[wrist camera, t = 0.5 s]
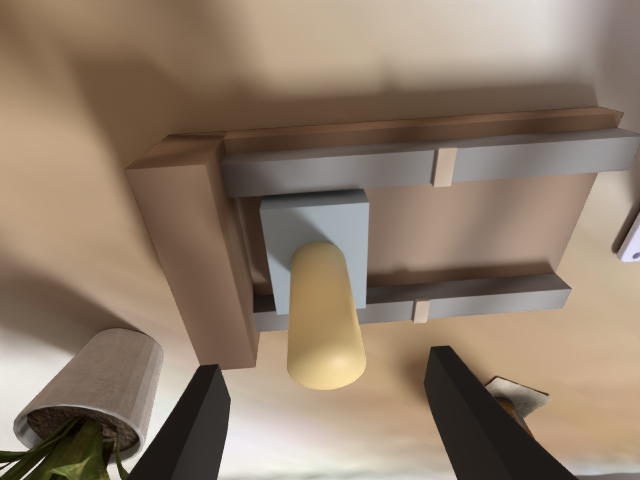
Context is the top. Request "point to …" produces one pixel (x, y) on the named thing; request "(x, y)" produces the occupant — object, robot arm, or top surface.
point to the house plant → (90, 411)
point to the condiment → (517, 399)
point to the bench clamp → (378, 214)
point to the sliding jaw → (319, 280)
